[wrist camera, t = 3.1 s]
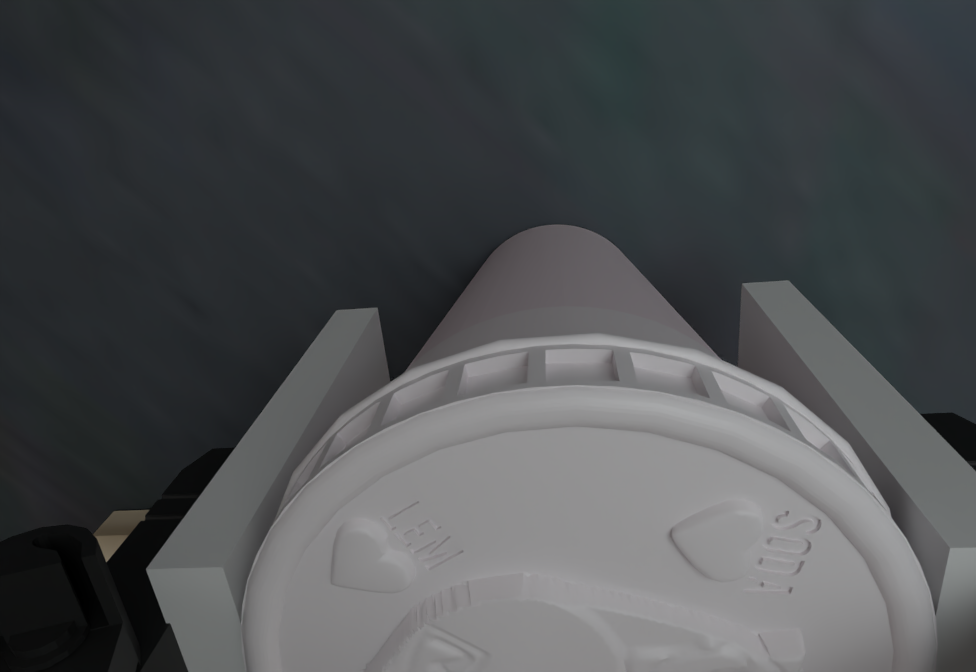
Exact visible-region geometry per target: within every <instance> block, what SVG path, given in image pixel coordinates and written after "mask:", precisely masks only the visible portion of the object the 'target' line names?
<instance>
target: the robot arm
mask: <svg viewBox="0 0 976 672" xmlns="http://www.w3.org/2000/svg"><path fill="white" fill-rule="evenodd" d="M738 367H739V368H741V369H743V370H745V371H748V372H750V373H752V374H754V375H757V376H759V377H761V378H764V379H766V380H768V381H770V382H773V383H775V384H777V385H779V386H782V387H783V388H784V389H785V390H786V391H788V392H789V393H790V394H791V395H792V396H794V397H795V398H796V399H797V400H798V401H800V402H801V403H802V404H803V405H804V406H806V407H807V408H808V409H809V410H810V411H812V412H813V413H814V414H815V415H816V416H818V417H819V418H820V419H821V420H822V421H824V422H825V423H826V424H827V425H828V426H830V427H831V428H832V429H833V430H834V431H836V432H837V433H838V434H839V435H840V436H842V437H843V438H844V439H845V440H846V441H847V442H849V444H850V445H851V447H852V449H853V450H854V452H855V454H856V455H857V457H858V458H859V460H860V462H861V463H862V465H863V466H864V468H865V470H866V471H867V473H868V474H869V476H870V478H871V479H872V481H873V482H874V484H875V486H876V487H877V489H878V491H879V492H880V494H881V495H882V497H883V499H884V500H885V502H886V503H887V505H888V507H889V508H890V512H891V517H892V519H893V521H894V522H895V523H896V525H897V526H898V527H899V529H900V530H901V532H902V533H903V534H904V536H905V537H906V539H907V540H908V542H909V544H910V546H911V548H912V550H913V552H914V554H915V555H916V557H917V559H918V561H919V563H920V565H921V567H922V570H923V573H924V576H925V578H926V581H927V584H928V586H929V589H930V592H931V597H932V601H933V606H934V611H935V616H936V624H937V640H938V649H937V661H936V672H976V424H974V423H972V422H970V421H968V420H966V419H964V418H962V417H960V416H958V415H956V414H954V413H933V414H919V413H918V412H917V411H916V410H915V409H914V408H913V407H912V406H911V405H910V404H909V403H908V402H907V401H906V400H905V399H904V398H903V397H902V396H901V395H900V394H899V393H898V392H897V391H896V390H895V389H894V387H893V386H892V385H891V384H890V383H889V382H888V381H887V380H886V379H885V378H884V377H883V376H882V375H881V374H880V373H879V372H878V371H877V370H876V369H875V368H874V367H873V366H872V365H871V364H870V363H869V362H868V361H867V360H866V359H865V358H864V357H863V356H862V355H861V354H860V353H859V352H858V351H857V350H856V349H855V348H854V347H853V346H852V345H851V344H850V343H849V342H848V341H847V340H846V339H845V338H844V337H843V336H842V335H841V334H840V333H839V331H838V330H837V329H836V328H835V327H834V326H833V325H832V324H831V323H830V322H829V321H828V320H827V319H826V318H825V317H824V316H823V315H822V314H821V313H820V312H819V311H818V310H817V309H816V308H815V307H814V306H813V305H812V304H811V303H810V302H809V301H808V300H807V299H806V298H805V297H804V296H803V295H802V294H801V293H800V292H799V291H798V290H797V289H796V288H795V287H794V286H793V285H792V284H791V283H790V282H789V281H788V280H787V281H772V282H757V283H742V292H741V311H740V331H739V350H738ZM389 382H390V377H389V371H388V365H387V360H386V354H385V348H384V342H383V336H382V331H381V325H380V319H379V313H378V308H363V309H348V310H336V312H335V313H334V314H333V316H332V317H331V318H330V320H329V321H328V322H327V324H326V325H325V327H324V328H323V329H322V331H321V332H320V333H319V335H318V336H317V337H316V339H315V340H314V341H313V343H312V344H311V346H310V347H309V348H308V350H307V351H306V352H305V354H304V355H303V356H302V358H301V359H300V360H299V362H298V363H297V365H296V366H295V367H294V369H293V370H292V371H291V373H290V374H289V375H288V377H287V378H286V379H285V381H284V382H283V384H282V385H281V386H280V388H279V389H278V390H277V392H276V393H275V394H274V396H273V397H272V398H271V400H270V401H269V403H268V404H267V405H266V407H265V408H264V409H263V411H262V412H261V413H260V415H259V416H258V418H257V419H256V420H255V422H254V423H253V424H252V426H251V427H250V428H249V430H248V431H247V432H246V434H245V435H244V437H243V438H242V439H241V441H240V442H239V443H238V445H237V446H236V447H235V448H219V449H212V450H210V451H209V452H207V453H206V454H205V455H203V456H202V457H200V458H199V459H197V460H196V461H195V462H193V463H192V464H190V465H189V466H187V467H186V468H185V469H183V470H182V471H181V472H180V473H179V475H178V476H177V477H176V478H175V479H174V481H173V482H172V483H171V484H170V486H169V487H168V488H167V489H166V490H165V492H164V493H163V494H162V500H157V501H156V503H155V504H154V505H153V506H152V508H151V509H150V510H149V511H148V512H147V514H146V515H145V521H140V522H139V523H138V525H137V526H136V527H135V528H134V529H133V531H132V532H131V533H130V534H129V536H128V537H127V538H126V539H125V540H124V542H123V543H122V544H121V545H120V547H119V548H118V549H117V550H116V551H115V553H114V554H113V555H112V556H111V558H110V559H109V560H108V561H107V562H106V560H105V558H104V555H103V553H102V550H101V548H100V545H99V543H98V540H97V538H96V537H95V536H94V535H93V534H92V533H91V532H90V531H89V530H88V529H87V528H82V527H77V526H72V525H59V526H51V527H42V528H38V529H35V530H32V531H28V532H25V533H22V534H19V535H16V536H12V537H10V538H8V539H6V540H4V541H2V542H0V672H246V670H245V665H244V660H243V654H242V642H241V617H242V604H243V599H244V594H245V590H246V585H247V580H248V577H249V574H250V572H251V569H252V566H253V563H254V560H255V557H256V555H257V553H258V551H259V549H260V547H261V545H262V543H263V541H264V539H265V537H266V536H267V534H268V532H269V530H270V528H271V526H272V524H273V522H274V520H275V517H276V515H277V512H278V510H279V507H280V505H281V502H282V499H283V497H284V494H285V492H286V489H287V486H288V484H289V481H290V479H291V476H292V473H293V471H294V470H295V469H296V468H297V467H298V465H299V464H300V463H301V462H302V461H303V459H304V458H305V457H306V456H307V455H308V453H309V452H310V451H311V450H312V449H313V447H314V446H315V445H316V444H317V443H318V441H319V440H320V439H321V438H322V437H323V435H324V434H325V433H326V432H327V431H328V429H329V428H330V427H331V426H332V425H333V423H334V422H335V421H336V420H337V419H338V417H339V416H340V415H341V414H342V413H344V412H345V411H347V410H348V409H350V408H351V407H353V406H354V405H356V404H357V403H359V402H360V401H362V400H363V399H365V398H366V397H368V396H370V395H371V394H373V393H374V392H376V391H377V390H379V389H380V388H382V387H383V386H385V385H386V384H388V383H389Z"/></svg>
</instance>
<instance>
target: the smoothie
mask: <svg viewBox="0 0 976 672" xmlns="http://www.w3.org/2000/svg"><path fill="white" fill-rule="evenodd" d="M241 642H242V654H243V660H244V665H245V670H246V672H936V661H937V649H938V640H937V624H936V616H935V611H934V606H933V601H932V597H931V592H930V589H929V586H928V584H927V581H926V578H925V576H924V573H923V570H922V567H921V565H920V563H919V561H918V559H917V557H916V555H915V554H914V552H913V550H912V548H911V546H910V544H909V542H908V540H907V539H906V537H905V536H904V534H903V533H902V532H901V530H900V529H899V527H898V526H897V525H896V523H895V522H894V521H893V519H892V517H891V512H890V508H889V507H888V505H887V503H886V502H885V500H884V499H883V497H882V495H881V494H880V492H879V491H878V489H877V487H876V486H875V484H874V482H873V481H872V479H871V478H870V476H869V474H868V473H867V471H866V470H865V468H864V466H863V465H862V463H861V462H860V460H859V458H858V457H857V455H856V454H855V452H854V450H853V449H852V447H851V445H850V444H849V442H847V441H846V440H845V439H844V438H843V437H842V436H840V435H839V434H838V433H837V432H836V431H834V430H833V429H832V428H831V427H830V426H828V425H827V424H826V423H825V422H824V421H822V420H821V419H820V418H819V417H818V416H816V415H815V414H814V413H813V412H812V411H810V410H809V409H808V408H807V407H806V406H804V405H803V404H802V403H801V402H800V401H798V400H797V399H796V398H795V397H794V396H792V395H791V394H790V393H789V392H788V391H786V390H785V389H784V388H783V387H782V386H779V385H777V384H775V383H773V382H770V381H768V380H766V379H764V378H761V377H759V376H757V375H754V374H752V373H750V372H748V371H745V370H743V369H741V368H739V367H736V366H734V365H732V364H730V363H727V362H725V361H723V360H721V359H720V358H719V357H718V356H717V355H716V354H715V352H714V351H713V350H712V349H711V348H710V347H709V346H708V345H707V344H706V343H705V342H704V341H703V339H702V338H701V337H700V336H699V335H698V334H697V333H696V332H695V331H694V330H693V329H692V328H691V327H690V325H689V324H688V323H687V322H686V321H685V320H684V319H683V318H682V317H681V316H680V315H679V314H678V312H677V311H676V310H675V309H674V308H673V307H672V306H671V305H670V304H669V303H668V302H667V301H666V300H665V298H664V297H663V296H662V295H661V294H660V293H659V292H658V291H657V290H656V289H655V288H654V287H653V285H652V284H651V283H650V282H649V281H648V280H647V279H646V278H645V277H644V276H643V275H642V274H641V273H640V271H639V270H638V269H637V268H636V267H635V266H634V265H633V264H632V263H631V262H630V261H629V260H628V258H627V257H626V256H625V255H624V254H623V253H622V252H621V251H620V250H619V249H618V248H617V247H616V246H615V245H614V244H612V243H611V242H610V241H608V240H607V239H606V238H604V237H602V236H600V235H599V234H597V233H595V232H592V231H590V230H587V229H584V228H581V227H576V226H571V225H544V226H539V227H535V228H531V229H528V230H525V231H523V232H520V233H518V234H516V235H514V236H513V237H511V238H509V239H508V240H506V241H505V242H504V243H502V244H501V245H500V246H499V247H498V248H497V249H495V250H494V251H493V253H492V254H491V255H490V256H489V257H488V258H487V260H486V261H485V263H484V264H483V265H482V267H481V268H480V269H479V271H478V272H477V274H476V275H475V276H474V278H473V279H472V280H471V282H470V283H469V285H468V286H467V287H466V289H465V290H464V291H463V293H462V294H461V295H460V297H459V298H458V300H457V301H456V302H455V304H454V305H453V306H452V308H451V309H450V311H449V312H448V313H447V315H446V316H445V317H444V319H443V320H442V321H441V323H440V324H439V326H438V327H437V328H436V330H435V331H434V332H433V334H432V335H431V337H430V338H429V339H428V341H427V342H426V343H425V345H424V346H423V348H422V349H421V350H420V352H419V353H418V354H417V356H416V357H415V358H414V360H413V361H412V363H411V364H410V365H409V367H408V368H407V369H406V371H405V372H404V373H403V374H402V375H400V376H399V377H397V378H396V379H394V380H392V381H391V382H389V383H388V384H386V385H385V386H383V387H382V388H380V389H379V390H377V391H376V392H374V393H373V394H371V395H370V396H368V397H366V398H365V399H363V400H362V401H360V402H359V403H357V404H356V405H354V406H353V407H351V408H350V409H348V410H347V411H345V412H344V413H342V414H341V415H340V416H339V417H338V419H337V420H336V421H335V422H334V423H333V425H332V426H331V427H330V428H329V429H328V431H327V432H326V433H325V434H324V435H323V437H322V438H321V439H320V440H319V441H318V443H317V444H316V445H315V446H314V447H313V449H312V450H311V451H310V452H309V453H308V455H307V456H306V457H305V458H304V459H303V461H302V462H301V463H300V464H299V465H298V467H297V468H296V469H295V470H294V471H293V473H292V476H291V479H290V481H289V484H288V486H287V489H286V492H285V494H284V497H283V499H282V502H281V505H280V507H279V510H278V512H277V515H276V517H275V520H274V522H273V524H272V526H271V528H270V530H269V532H268V534H267V536H266V537H265V539H264V541H263V543H262V545H261V547H260V549H259V551H258V553H257V555H256V557H255V560H254V563H253V566H252V569H251V572H250V574H249V577H248V580H247V585H246V590H245V594H244V599H243V604H242V617H241Z"/></svg>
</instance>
